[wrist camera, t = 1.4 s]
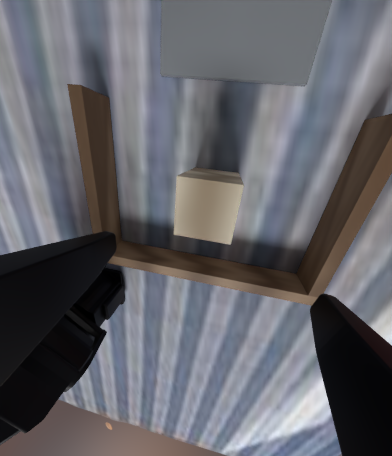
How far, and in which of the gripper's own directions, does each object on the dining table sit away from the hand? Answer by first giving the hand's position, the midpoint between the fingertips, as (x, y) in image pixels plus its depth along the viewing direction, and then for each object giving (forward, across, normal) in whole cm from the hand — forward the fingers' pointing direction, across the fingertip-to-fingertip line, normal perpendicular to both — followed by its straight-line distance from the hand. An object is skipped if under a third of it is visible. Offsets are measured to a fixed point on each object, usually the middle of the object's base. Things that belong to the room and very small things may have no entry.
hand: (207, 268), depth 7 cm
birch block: (+12, +2, 0) cm, 13 cm away
